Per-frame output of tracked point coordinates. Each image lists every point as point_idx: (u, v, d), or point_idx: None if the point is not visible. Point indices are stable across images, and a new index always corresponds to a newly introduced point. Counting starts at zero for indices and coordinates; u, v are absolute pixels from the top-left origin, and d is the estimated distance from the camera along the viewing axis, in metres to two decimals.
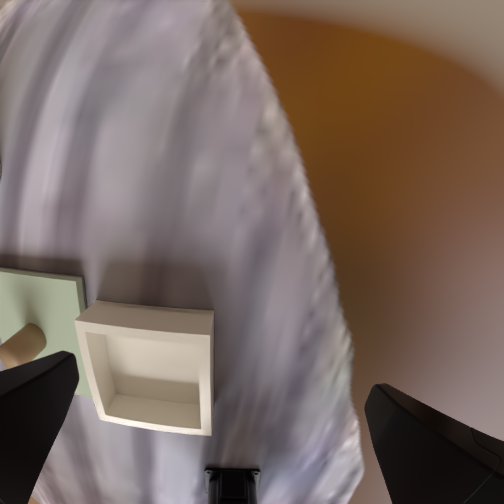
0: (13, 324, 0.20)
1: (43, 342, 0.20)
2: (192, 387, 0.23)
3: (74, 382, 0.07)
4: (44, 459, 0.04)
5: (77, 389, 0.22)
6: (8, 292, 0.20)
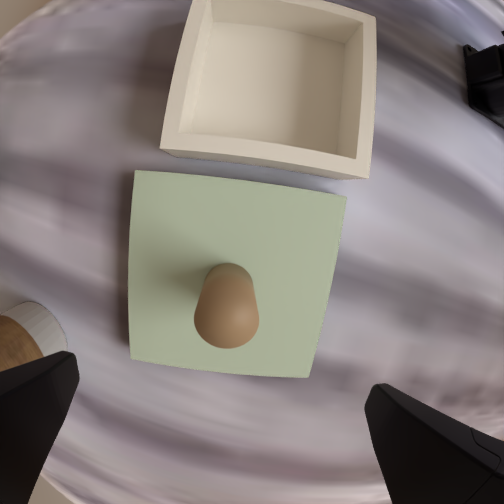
0: None
1: (232, 266, 0.16)
2: (314, 48, 0.14)
3: (74, 382, 0.07)
4: (43, 459, 0.04)
5: (329, 234, 0.16)
6: (157, 318, 0.17)
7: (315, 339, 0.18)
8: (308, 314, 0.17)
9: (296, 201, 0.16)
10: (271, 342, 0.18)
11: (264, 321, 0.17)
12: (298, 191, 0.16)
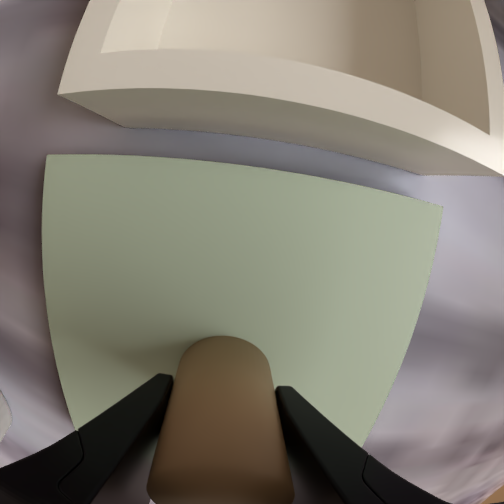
0: None
1: (231, 346, 0.08)
2: None
3: None
4: None
5: (412, 277, 0.08)
6: None
7: (364, 433, 0.09)
8: (360, 405, 0.09)
9: (361, 213, 0.07)
10: None
11: None
12: (365, 193, 0.07)
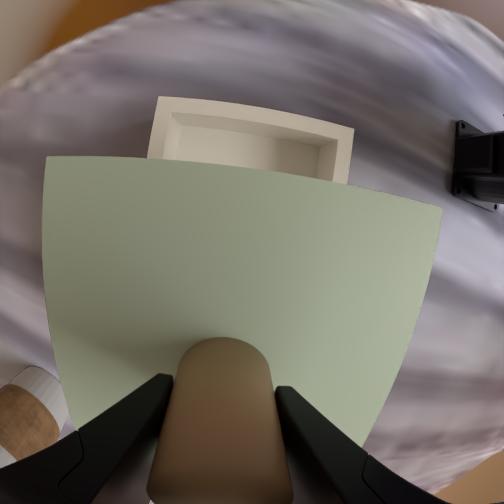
0: None
1: (231, 347, 0.08)
2: (286, 156, 0.17)
3: None
4: None
5: (411, 278, 0.08)
6: None
7: (363, 434, 0.09)
8: (360, 406, 0.09)
9: (361, 215, 0.07)
10: None
11: None
12: (365, 195, 0.07)
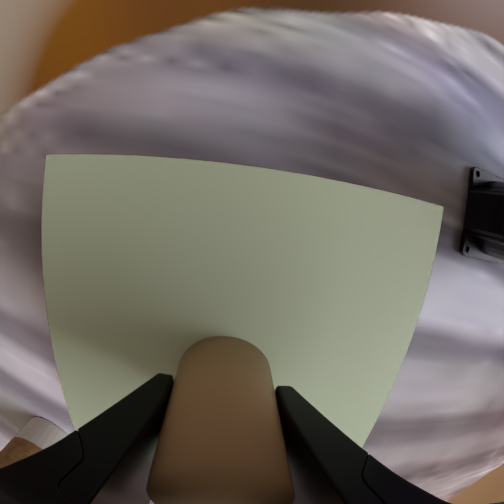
0: None
1: (232, 346, 0.08)
2: None
3: None
4: None
5: (412, 277, 0.08)
6: None
7: (364, 434, 0.09)
8: (360, 406, 0.09)
9: (362, 213, 0.07)
10: None
11: None
12: (366, 193, 0.07)
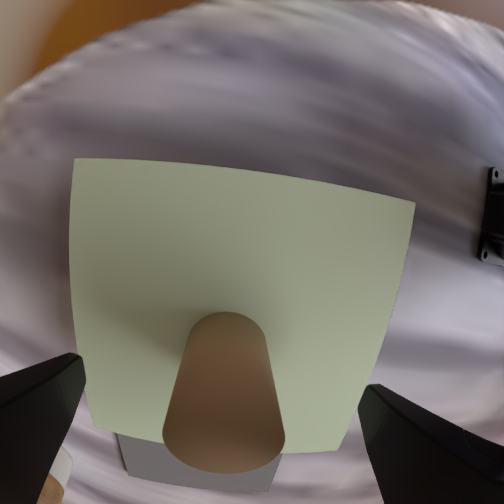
0: None
1: (233, 319, 0.09)
2: None
3: (81, 384, 0.07)
4: (51, 463, 0.04)
5: (388, 263, 0.10)
6: (122, 384, 0.10)
7: (352, 408, 0.11)
8: (347, 379, 0.11)
9: (341, 209, 0.09)
10: (291, 417, 0.11)
11: (281, 393, 0.11)
12: (345, 192, 0.09)
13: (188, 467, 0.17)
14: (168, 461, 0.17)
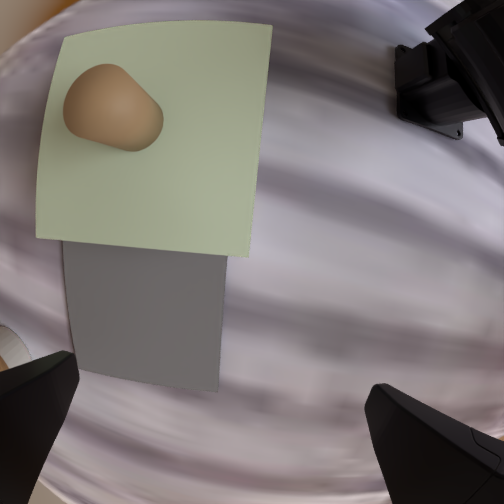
0: (115, 183, 0.13)
1: None
2: None
3: (74, 382, 0.07)
4: (44, 459, 0.04)
5: (254, 59, 0.12)
6: (62, 175, 0.12)
7: (250, 191, 0.13)
8: (236, 153, 0.13)
9: (213, 31, 0.11)
10: (189, 195, 0.13)
11: (177, 164, 0.13)
12: (215, 23, 0.11)
13: (130, 345, 0.20)
14: (111, 337, 0.19)
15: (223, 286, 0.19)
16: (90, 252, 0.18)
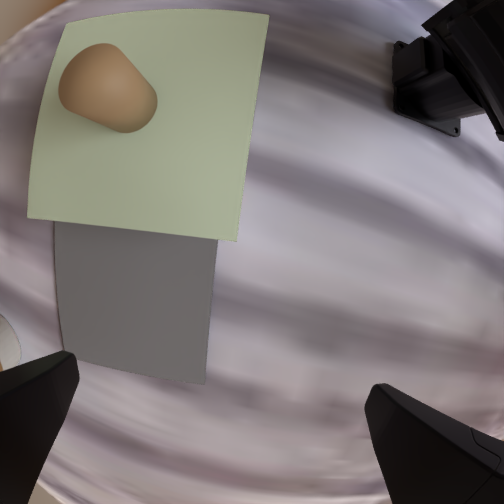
0: (107, 164, 0.12)
1: None
2: None
3: (74, 382, 0.07)
4: (44, 459, 0.04)
5: (249, 46, 0.12)
6: (56, 156, 0.12)
7: (240, 175, 0.13)
8: (227, 137, 0.13)
9: (211, 19, 0.11)
10: (179, 176, 0.13)
11: (169, 146, 0.13)
12: (213, 11, 0.11)
13: (117, 333, 0.19)
14: (99, 324, 0.19)
15: (212, 274, 0.19)
16: (81, 236, 0.18)
